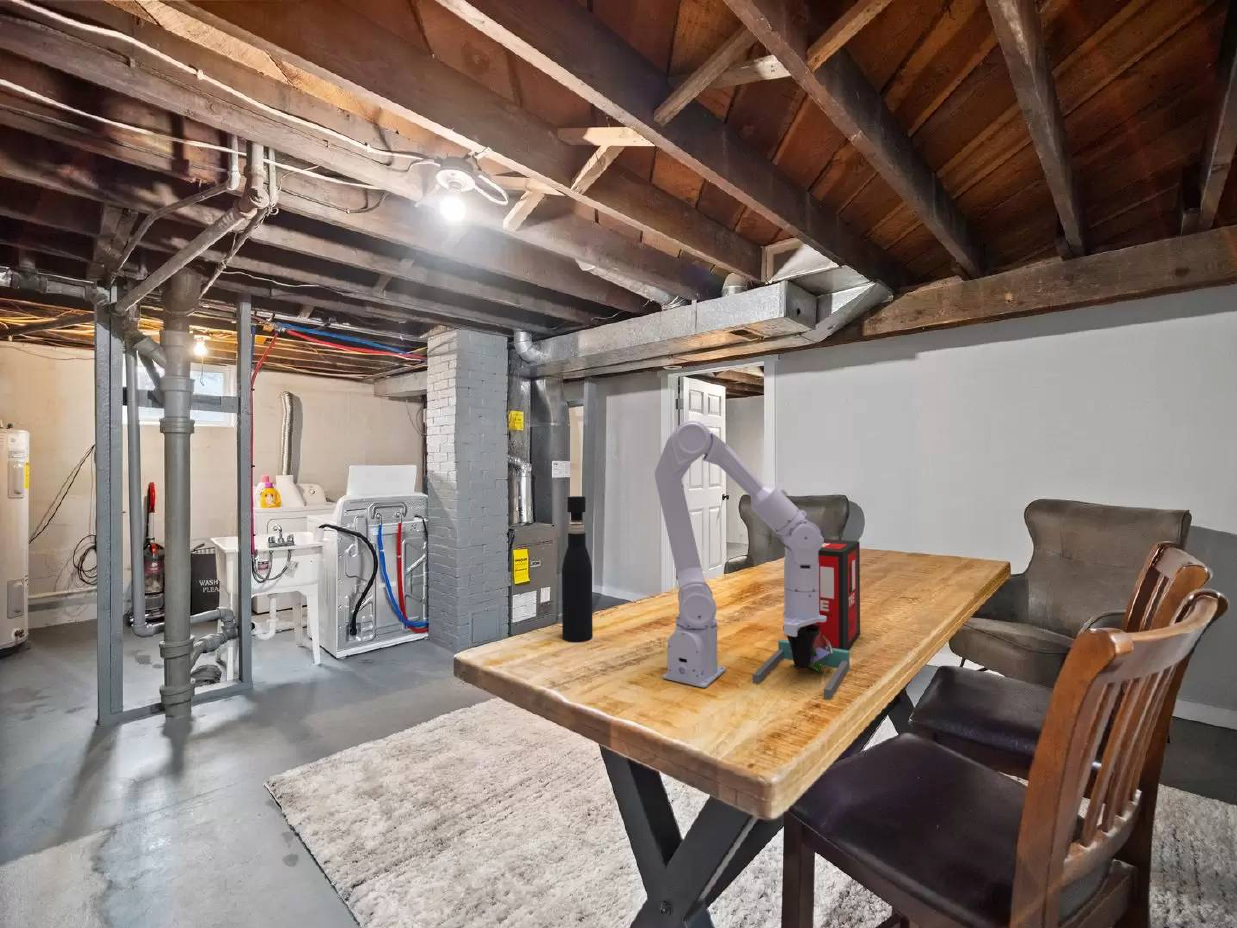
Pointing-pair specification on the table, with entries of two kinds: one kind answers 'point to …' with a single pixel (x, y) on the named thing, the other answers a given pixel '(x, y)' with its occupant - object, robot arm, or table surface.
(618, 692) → the table surface
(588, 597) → the black water bottle
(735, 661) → the table surface
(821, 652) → the geometric puzzle
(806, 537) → the robot arm
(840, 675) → the u-shaped frame
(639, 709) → the table surface
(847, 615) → the cleaning product box
